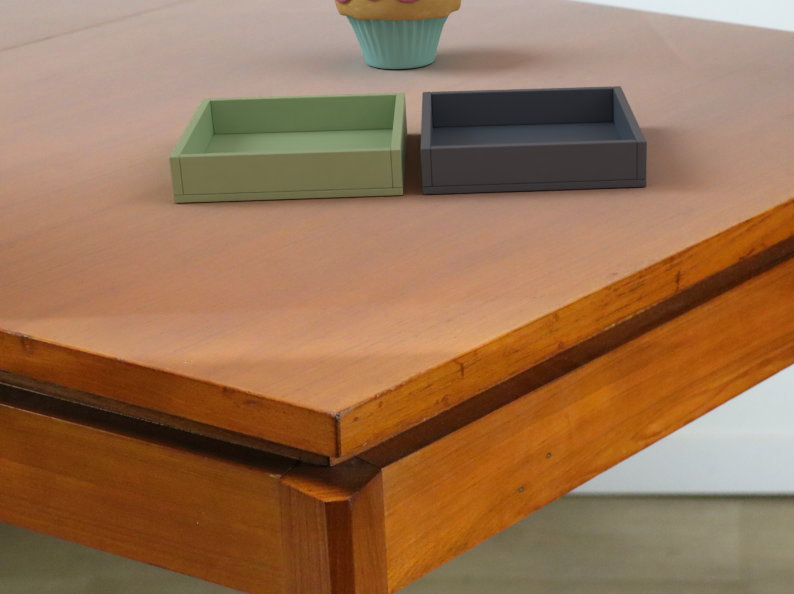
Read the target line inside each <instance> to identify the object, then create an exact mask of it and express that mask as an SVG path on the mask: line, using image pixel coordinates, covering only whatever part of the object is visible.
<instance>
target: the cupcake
mask: <svg viewBox="0 0 794 594" xmlns="http://www.w3.org/2000/svg"><path fill="white" fill-rule="evenodd" d="M334 3H335V7H336V10H337V12H338V14H339V15H341V16H344V17H346V19H347V20H348V22H349V24H350V26H351V28H352V30H353V32H354V34H355V37H356V40H357V42H358V44H359V47H360V50H361V53H362V56H363V58H364V62H365V64H366V65H368V66H370V67H372V68H376V69H383V70H384V69H385V70H407V69H415V68H417V69H418V68H423V67H425V66H428V65H431V64H432V63H433V62H435V61H436V55H437V52H438V47H439V43H440V39H441V36H442V33H443V30H444V26H445V24H446V22H447V20H448V18H449V16H450V15H451V14H452V13H454V12H458V11H459V10H460V9H461V5H462V0H334Z"/></svg>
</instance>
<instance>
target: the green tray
mask: <svg viewBox="0 0 794 594" xmlns="http://www.w3.org/2000/svg"><path fill="white" fill-rule="evenodd" d="M406 102H407V101H406V93H405V92H381V93H380V92H377V93H373V92H372V93H343V94H342V93H341V94H310V95H309V94H308V95H305V94H304V95H277V96H276V95H275V96H243V97H239V96H238V97H212V98H210V97H209V98H207V97H206V98H202V99H201V101H200V102H199V104H198V106H197V108H196V109H195V111H194V113H193V115H192V117H190V118H191V119H190V120H189V122H188V123H187V124H186V127H185V129H184V130H183V132H182V134H181V136H180V137H179V139H178V141H177V143H176V144H175V146H174V147H173V149H172V151H171V153H170V155H169V156H168V162H169V171H170V178H171V185H172V195H173V202H174V203H175V204H184V203H185V204H187V203H213V202H214V203H215V202H216V203H217V202H242V201H245V202H247V201H270V200H271V201H272V200H302V199H303V200H304V199H329V198H330V199H333V198H356V197H359V198H361V197H385V196H389V197H390V196H391V197H392V196H403V195H404V189H405V187H404V186H405V172H406V158H407V144H408V143H407V142H408V122H407V121H408V120H407V119H408V118H407V103H406Z"/></svg>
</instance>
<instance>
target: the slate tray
mask: <svg viewBox="0 0 794 594" xmlns="http://www.w3.org/2000/svg"><path fill="white" fill-rule="evenodd" d="M421 97H422V98H421V120H420V121H421V124H420V127H421V128H420V165H421V166H420V168H421V185H422V195H444V194H448V195H449V194H474V193H503V192H505V193H507V192H533V191H534V192H535V191H561V190H562V191H563V190H591V189H617V188H618V189H621V188H622V189H623V188H645V187H647V164H648V163H647V158H648V157H647V154H648V152H647V149H648V148H647V147H648V146H647V145H648V143H647V140H646V138H645V136H644V133H643V132H642V129H641V127H640V125H639V123H638V121H637V118H636V116H635V114H634V111H633V110H632V107H631V105H630V103H629V101H628V99H627V97H626V95H625V93H624V91H623V88H622V86H621V85H615V86H583V87H582V86H581V87H580V86H579V87H550V88H549V87H545V88H542V87H541V88H516V89H515V88H512V89H511V88H509V89H481V90H479V89H478V90H477V89H476V90H447V91H442V90H441V91H422V96H421Z"/></svg>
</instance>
